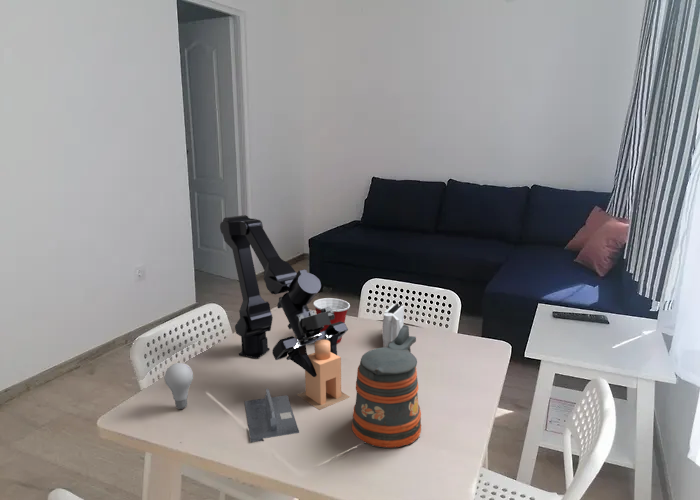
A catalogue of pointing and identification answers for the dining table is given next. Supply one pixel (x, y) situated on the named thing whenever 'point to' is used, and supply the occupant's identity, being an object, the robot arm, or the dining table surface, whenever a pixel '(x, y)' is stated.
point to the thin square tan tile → (329, 400)
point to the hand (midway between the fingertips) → (326, 372)
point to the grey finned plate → (270, 417)
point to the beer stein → (388, 395)
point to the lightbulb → (179, 382)
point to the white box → (392, 323)
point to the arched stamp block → (323, 373)
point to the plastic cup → (338, 308)
